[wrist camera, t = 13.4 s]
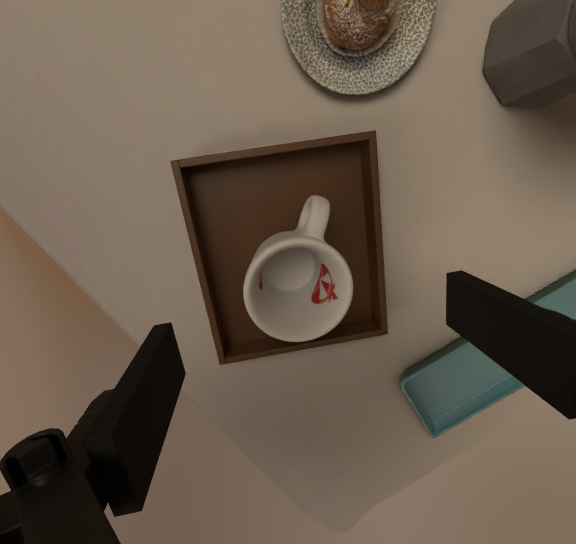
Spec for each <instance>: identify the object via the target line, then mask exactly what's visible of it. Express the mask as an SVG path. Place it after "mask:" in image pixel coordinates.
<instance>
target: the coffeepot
mask: <svg viewBox="0 0 576 544" xmlns="http://www.w3.org/2000/svg"><path fill="white" fill-rule="evenodd" d="M483 70H484V73H485V76H486V78H487V81H488V83H489V85H490V87H491V89H492V91H493V92H494V93H495V95H496V96H497V97H498V98H499V99H500V100H501V102H502V104H503V105H511V106H516V107H534V108H541V107H543V106H545V105H548V104H550V103H552V102H554V101H557V100H559V99H561V98H563V97H566V96H568V95H570V94H572V93H575V92H576V0H515V1H513V2H512V3H511V4H510V5H509V6H508V7H507V8H506V9H505V10H504V11H503V12H502V13H501V14H500V15H499V16H498V17H496V18H495V19H494V20H493V23H492V26H491V30H490V33H489V37H488V40H487V44H486V48H485V56H484V69H483Z"/></svg>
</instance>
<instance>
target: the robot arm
mask: <svg viewBox="0 0 576 544" xmlns="http://www.w3.org/2000/svg"><path fill="white" fill-rule="evenodd" d="M446 325H448V326H449V327H450V328H452V329H453V330H454V331H455V332H457V333H458V334H459V335H461V336H462V337H463V338H464V339H466V340H467V341H468V342H470V343H471V344H472V345H473V346H475V347H476V348H477V349H479V350H480V351H481V352H483V353H484V354H485V355H486V356H488V357H489V358H490V359H492V360H493V361H494V362H495V363H497V364H498V365H499V366H501V367H502V368H503V369H505V370H506V371H507V372H508V373H510V374H511V375H512V376H514V377H515V378H516V379H517V380H519V381H520V382H521V383H523V384H524V385H525V386H526V387H528V388H529V389H530V390H532V391H533V392H534V393H536V394H537V395H538V396H539V397H541V398H542V399H543V400H545V401H546V402H547V403H548V404H550V405H551V406H552V407H554V408H555V409H556V410H558V411H559V412H560V413H562V414H563V415H564V416H565V417H567V418H568V419H574V418H576V320H575V319H571V318H570V317H568V316H566V315H564V314H561V313H559V312H557V311H553V310H549V309H545V308H542V307H540V306H538V305H536V304H533V303H531V302H529V301H527V300H525V299H523V298H520V297H518V296H516V295H514V294H512V293H510V292H507V291H505V290H503V289H501V288H499V287H497V286H494V285H492V284H490V283H488V282H486V281H484V280H481V279H479V278H477V277H475V276H473V275H471V274H468V273H466V272H464V271H462V270H461V271H456V272H450V273H447V284H446ZM185 374H186V373H185V369H184V366H183V362H182V359H181V355H180V352H179V348H178V345H177V341H176V338H175V334H174V331H173V327H172V324H171V322H170V323H165V324H159V325H154V326H153V328H152V330H151V331H150V333H149V334H148V336H147V338H146V339H145V341H144V342H143V344H142V346H141V347H140V349H139V350H138V352H137V353H136V355H135V357H134V358H133V360H132V362H131V363H130V365H129V366H128V368H127V370H126V371H125V373H124V374H123V376H122V377H121V379H120V380H119V382H118V384H117V385H116V387H115V388H114V389H112V390H107V391H104V392H103V393H101V394H100V395H99V396H98V397H97V398H96V399H94V400H93V401H92V402H91V404H90V405H89V406H88V408H87V409H86V411H85V412H84V415H82V417H81V418H80V419H79V421H78V424H77V425H75V427H74V428H73V430H72V431H71V432H70V434H69V435H68V437H67V438H66V437H65V435H64V433H63V431H61V430H60V429H53V428H52V429H51V428H50V429H46V430H43V431H39V432H37V433H35V434H33V435H30V436H28V437H27V438H25V439H23V440H22V441H20V442H19V443H17V444H16V445H15V446H14V447H12V448H11V449H10V450H9V451H8V452H7V453H6V454H5V456H4V457H3V458H2V459H1V461H0V471H1V473H2V474H3V476H4V478H5V480H6V482H7V483H8V485H9V487H10V489H11V491H10V492H7V493H5V494H3V495H0V544H121V543H120V542H119V540H118V538H117V536H116V534H115V532H114V530H113V528H112V527H111V525H110V523H109V521H108V519H107V518H106V515H105V513H104V510H105V508H106V506H107V503H109V505H110V508H111V510H112V512H113V515H114V517H116V516H121V515H125V514H130V513H135V512H139V511H142V509H143V505H144V502H145V499H146V496H147V493H148V490H149V487H150V484H151V480H152V477H153V474H154V471H155V468H156V465H157V461H158V459H159V455H160V452H161V449H162V446H163V443H164V440H165V437H166V434H167V431H168V427H169V424H170V421H171V418H172V415H173V412H174V409H175V406H176V402H177V399H178V396H179V393H180V390H181V387H182V384H183V381H184V378H185Z"/></svg>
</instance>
